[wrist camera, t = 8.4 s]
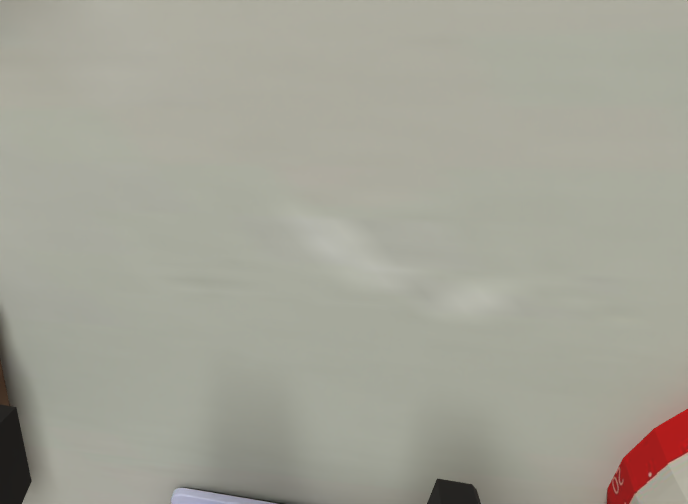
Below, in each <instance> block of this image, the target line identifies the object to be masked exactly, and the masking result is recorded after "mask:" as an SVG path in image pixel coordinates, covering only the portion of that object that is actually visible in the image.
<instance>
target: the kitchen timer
mask: <svg viewBox="0 0 688 504" xmlns="http://www.w3.org/2000/svg"><path fill="white" fill-rule="evenodd" d="M607 504H688V409H686V410H685V411H683V412H681V413H680V414H678V415H676V416H675V417H673V418H671V419H669V420H668V421H666V422H664V423H663V424H661V425H659V426H658V427H656V428H654V429H653V430H652V431H651V432H650V433H649V434H648V435H647V436H646V437H645V438H644V439H643V440H642V441H641V442H640V443H639V444H638V445H636V446H635V447H634V448H633V449H632V450H631V451H630V452H629V453H628V454H627V455H626V456H625V457H624V458H623V460H622V462H621V464H620V465H619V467H618V469H617V471H616V473H615V475H614V477H613V479H612V481H611V483H610V485H609V487H608V493H607Z"/></svg>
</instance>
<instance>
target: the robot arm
mask: <svg viewBox="0 0 688 504" xmlns="http://www.w3.org/2000/svg"><path fill="white" fill-rule="evenodd" d="M30 483H31V477H30V472H29V467H28V462H27V457H26V452H25V448H24V443H23V438H22V433H21V428H20V423H19V419H18V414H17V409H16V407H12V406H6V405H1V404H0V504H22V502H23V500H24V497H25V495H26V493H27V490H28V488H29V486H30ZM171 504H278V503H272V502H266V501H260V500H254V499H248V498H242V497H236V496H230V495H224V494H218V493H212V492H206V491H200V490H194V489H188V488H177V489H175V490H174V492H173V495H172V498H171ZM427 504H481V503H480V499H479V496H478V493H477V490H476V489H475V487H474V486H473V485H472V484H466V483H460V482H454V481H448V480H442V479H437V480H436V483H435V485H434V488H433V490H432V493H431V495H430V498H429V500H428V503H427Z"/></svg>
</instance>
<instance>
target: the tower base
mask: <svg viewBox="0 0 688 504" xmlns="http://www.w3.org/2000/svg"><path fill="white" fill-rule="evenodd" d="M0 404H1V405H6V406H10V405H9V400H8V395H7V390H6V385H5V380H4V375H3V370H2V365H1V360H0Z"/></svg>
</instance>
